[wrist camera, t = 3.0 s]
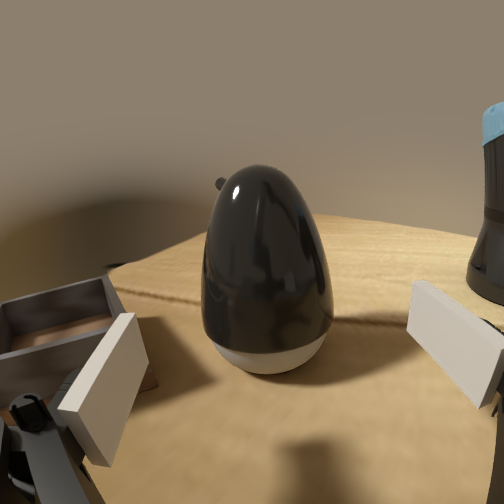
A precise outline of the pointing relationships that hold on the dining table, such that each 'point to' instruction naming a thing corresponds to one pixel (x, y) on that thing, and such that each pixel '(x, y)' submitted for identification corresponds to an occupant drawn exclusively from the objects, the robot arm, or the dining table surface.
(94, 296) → the holder
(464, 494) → the dining table surface
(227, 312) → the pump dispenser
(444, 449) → the dining table surface
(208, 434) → the dining table surface
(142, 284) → the dining table surface
